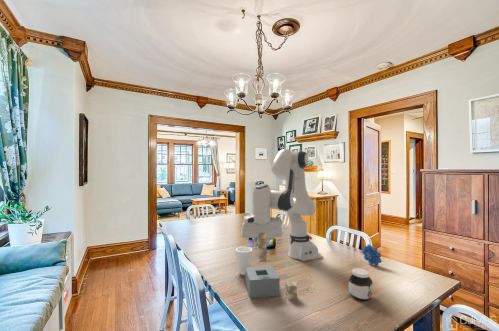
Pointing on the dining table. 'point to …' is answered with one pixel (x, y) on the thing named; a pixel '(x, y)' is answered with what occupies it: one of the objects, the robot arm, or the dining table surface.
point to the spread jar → (360, 285)
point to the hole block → (262, 281)
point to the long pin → (262, 247)
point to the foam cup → (243, 258)
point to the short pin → (291, 290)
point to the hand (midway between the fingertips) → (261, 245)
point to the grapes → (371, 255)
